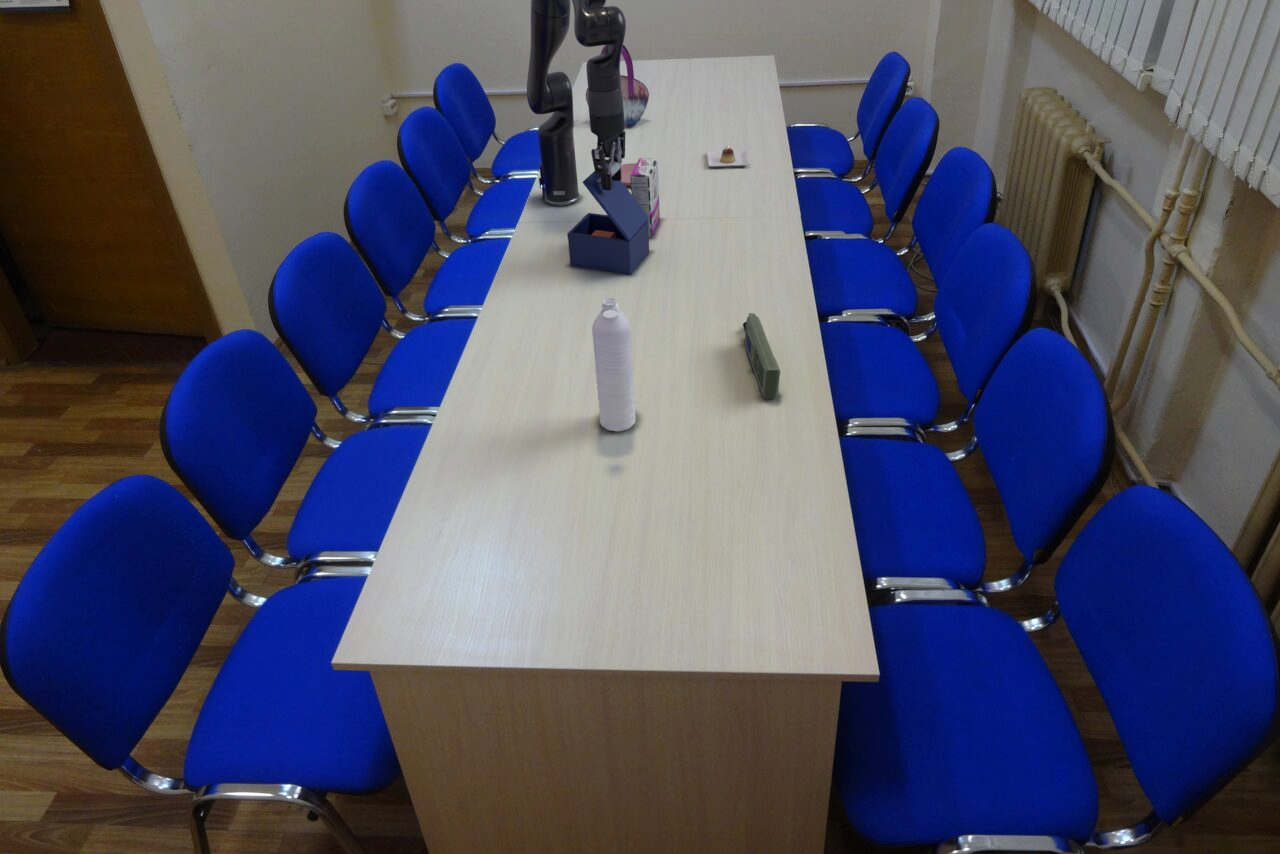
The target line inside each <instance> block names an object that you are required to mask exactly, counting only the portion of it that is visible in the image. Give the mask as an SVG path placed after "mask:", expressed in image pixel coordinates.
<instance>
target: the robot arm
mask: <svg viewBox="0 0 1280 854" xmlns="http://www.w3.org/2000/svg"><path fill="white" fill-rule="evenodd" d="M571 1H572V6H573V13H574V18H573V19H574V21H573V22H574V23H573V26H574V27H573V30H574V36H575V39H576V41H577V42H578V44H580V45H581V46H583V47H584V48H594V47H600V46H605V45H607V47H606V49H605V51H604V52H603V53H602V54H601V53H600V54H598V55H595V56H593V57H590V59H588V60H587V62H586V66H585V67H586V69H585V70H586V79H587V88H588V104H587V107H588V106H589V107H588V118H589V127H590V128H589V129H590V132H591V133H592V134H594V135H595V136H596V137H597V142H596V148H592V149H591V151H590V152H591V153H590V154H591V159H592V162H593V169H594V171H595V173H596V174H601V183H602V189H603V190H611V189H612V181H611V174H610V173H611V164H612V163H614V162H618V163H619V164H620V169H619V170H618V171H617V172H616V173H615V174H614V175H613V176H612V180H613V181H620V180H621V179H622V175H621V165H622V164H623V159H625V158H626V131H625V129H626V128H625V123H624V107H623V95H622V90H621V79H620V75H621V59H622V54H621V52H622V46H623V45H624V42H625V37H626V31H627V22H626V17H625V14H624V12H623V11H622V10H621V8H619V6H617V5H607V6H605V5H606V2H607V0H530V50H529V51H530V52H529V61H528V70H527V79H526V98H527V104H528V106H529V109H530V110H531V112H532V113H533V114H536V115H547V114H551V113H552V114H551V116H550V117H549V118H547V120H546V121H545V122H543V123H542V124H540V125H539V126H538V129H537V137H538V144H539V154H540V162H541V163H540V165H539V174H540V177H539V178H538V183H539V189H541V192H542V199H543V200H545V201H544V202H545V203H546V204H548V205H551V206H555V207H556V206H557V207H562V206H569V205H573V204H575V203H577V202H578V201H579V200H580V193H579V192H580V191H579V182H578V181H579V180H578V172H577V170H578V169H577V159H576V149H575V139H574V126H575V120H574V96H573V95H574V94H573V88H572V84H571V80H570V78H569V76H568V75H567V73H565V72H564V71H554V72H549V69H550V65H551V63H552V61H553V59H554V57H555V55H556V54H557V53H558V51H559V49H560V48H561V46H562V45H563V43H564V41H565V40H566V37H567V35H568V32H569V31H570V30H569V29H570V22H571V21H570V20H571ZM606 158H607V159H606ZM606 163H607V166H606Z"/></svg>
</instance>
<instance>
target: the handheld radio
mask: <svg viewBox="0 0 1280 854" xmlns="http://www.w3.org/2000/svg"><path fill="white" fill-rule="evenodd" d="M742 327H743V329H744V333H745V334H744V346H745V349H746V352H747V355H748V358H749V361H750V364H751V367H752V369H753V372H754V375H755V379H756V382H757V384H758V387H759V390H760V393H761V395H762V398H763V399H764V400H765V401H767V400H774V399H775V398H776V397H777V395H778V393H779V385H780V378H781V377H780V376H781V369H780V367H779V364H778V361H777V359H776V357H775V356H774V353H773V351H772V348H771V346H770V343H769V341H768V338H767V335H766V333H765V329H764V327H763V325H762V323H761V320H760V318H759V316H757V314H755V312H748V316H747V317H746V321H744V322H743V324H742Z"/></svg>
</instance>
